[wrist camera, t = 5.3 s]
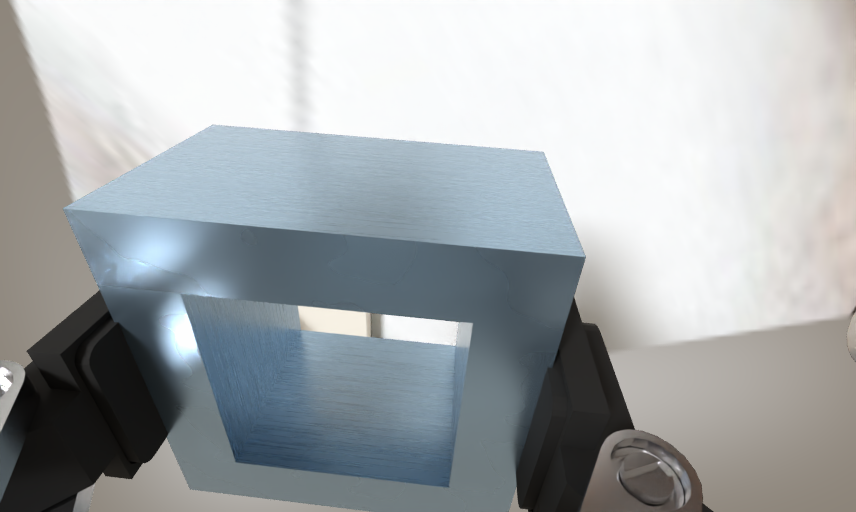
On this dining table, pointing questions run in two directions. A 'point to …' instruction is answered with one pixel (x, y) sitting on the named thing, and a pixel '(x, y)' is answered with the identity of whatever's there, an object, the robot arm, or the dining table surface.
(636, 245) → the dining table surface
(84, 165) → the dining table surface
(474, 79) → the dining table surface
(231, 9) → the dining table surface
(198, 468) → the collar
